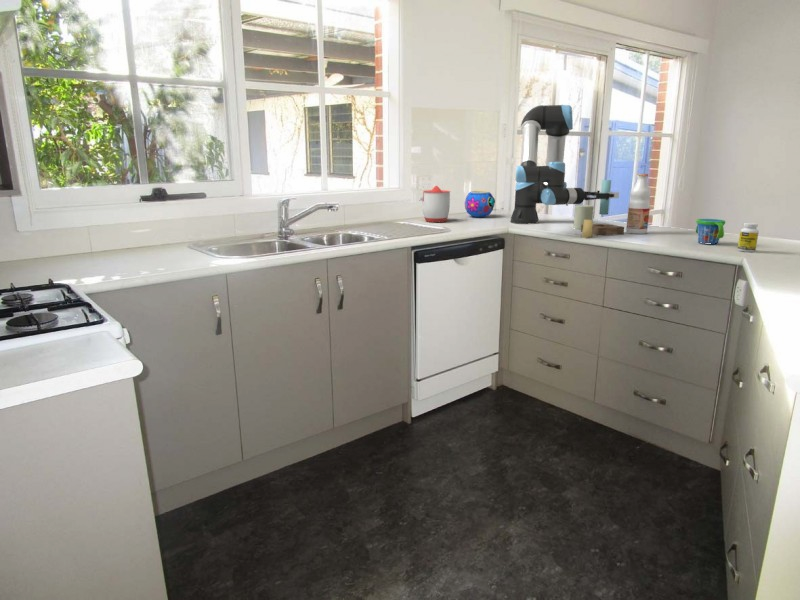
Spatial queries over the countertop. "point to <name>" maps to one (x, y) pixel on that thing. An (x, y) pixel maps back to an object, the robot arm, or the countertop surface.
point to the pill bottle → (748, 237)
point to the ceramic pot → (479, 203)
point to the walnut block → (605, 229)
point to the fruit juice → (639, 206)
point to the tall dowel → (603, 202)
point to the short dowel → (587, 228)
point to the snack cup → (710, 230)
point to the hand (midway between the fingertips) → (614, 194)
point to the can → (582, 214)
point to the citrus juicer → (436, 204)
